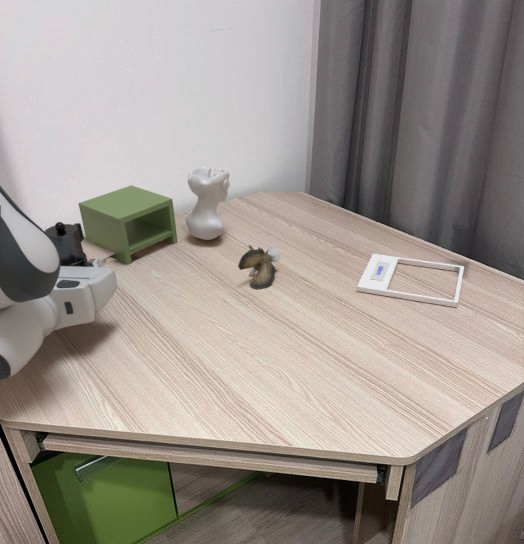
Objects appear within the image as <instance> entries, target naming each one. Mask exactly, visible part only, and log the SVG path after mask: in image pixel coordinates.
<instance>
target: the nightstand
mask: <svg viewBox="0 0 524 544" xmlns="http://www.w3.org/2000/svg"><path fill="white" fill-rule="evenodd" d="M78 209H79V213H80V217H81V221H82V226H83V230H84V234H85V239H86V241H87V242H89V243H92V244H95V245H97V246H99V247H102V248H103V249H106V250H107V251H110V252H111V253H114V254H112V255H109V257H110V258H112V259H114V260H116V261H118V262H120V263H123V264H125V265H127V266H128V265H130V264H132V263H133V261H132V254H133V253H136V252H138V251H140V250H143V249H145V248H147V247H150V246H152V245H155V244H156V243H159V242H161V241H165V242H168V243H170V244H177V243H179V242H178V233H177V225H176V217H175V209H174V203H173V198H171V197H169V196H166V195H163V194H159V193H157V192H153V191H150V190H148V189H144V188H141V187H138V186H134V185H128V186H124V187H122V188H118V189H116V190H113V191H110V192H108V193H103V194H101V195H99V196H96V197H93V198H92V197H91V198H90V199H86V200H84V201H81V202H78Z"/></svg>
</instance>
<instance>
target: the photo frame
mask: <svg viewBox="0 0 524 544" xmlns="http://www.w3.org/2000/svg"><path fill="white" fill-rule="evenodd" d="M398 264H403V265H411V266H418V267H425V268H431V269H439V270H445V271H453V272H458V277H457V282H456V288H455V294H454V299H448V298H442V297H435V296H430V295H424V294H423V295H422V294H416V293H410V292H404V291H399V290H393V289H389V286H390V284H391V282H392V279H393V276H394V274H395V272H396V269H397V267H398ZM464 270H465V266H463V265H457V264H451V263H443V262H435V261H428V260H420V259H415V258H406V257H401V256H394V255H385V254H379V253H372V255H371V256H370V259H369V261H368V263H367V265H366V267H365V269H364V271H363V273H362V276H361V278H360V279H359V282H358V284H357V285H356V292H360V293H365V294H371V295H379V296H386V297H391V298H397V299H403V300H410V301H416V302H422V303H428V304H434V305H441V306H446V307H451V308H452V307H453V308H458V305H459V299H460V293H461V287H462V282H463V275H464Z"/></svg>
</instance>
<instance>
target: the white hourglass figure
mask: <svg viewBox="0 0 524 544" xmlns="http://www.w3.org/2000/svg"><path fill="white" fill-rule="evenodd" d="M211 173H212V169H211V168H210V167H208V166H196V167H193V168H192V169H191V171H190V172H189V173H188V176H187V185H188V187H189V189H190V191H191V192H192V193H193V194H194V195H196V197H197V201H196V203H195V206H194V207H193V208H192V210H191V212H190V213H189V214H187V215H186V217H185V224H186V226H187V229H188V231H189V233H190V235H191V236H193V237H194V238H197V239H200V240H204V241H212V240H215V239H216V238H218V237H219V236H221V235H222V233H223V232H224V223H223V222H222V220H221V219H220V217H219V216H218V211H217V210H218V205H219V204H220V203H222V202H225V201H226V200H227V198H228V194H229V192H228V190H229V188H230V185H231V183H230V180H229V179H230V173H229V171H227V170H226V171H224V168H223V167H221V166H219V167H216V168H215V169H214V174H213V176H211Z"/></svg>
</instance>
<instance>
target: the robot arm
mask: <svg viewBox="0 0 524 544" xmlns="http://www.w3.org/2000/svg"><path fill="white" fill-rule="evenodd" d="M87 262H88V266H89V267H76V266H61V260H60V255H59V252H58V249H57V247H56V245H55V244H54V242H53V241H52V239H51V238H50V237H49V236H48V235H47V234H46V233H45V230H43V229H42V227H40V225H38V224H37V223H36V222H35V221H33V220H32V219H31V218H30V217H29V216H28V215H27V214H26V213H25V212H24V211H23V210H22V209H21V208H20V207H19V206H18V204H17V203H16V202H15V201H14V200H13V199H12V197H10V195H9V194H8V193H7V191H6V190H5V189H4V188H3V187H2V186H1V185H0V381H3V380H7V379H9V378H12V377H13V376H15V375H16V374H18V372H19V371H21V370H22V369H23V368H24V367H25V366H26V365H27V364H28V363H29V362H30V360H31V359H33V357H34V356H35V355H36V353H37V352H38V351H39V349H40V348H41V346H42V344H43V342H44V339H45V338H46V337H47V336H49V335H50V334H52V332H53V331H58V330H60V329H63V328H66V327H67V328H68V327H72V326H77V325H85V324H90V323H92V322H94V320H95V319H96V312H97V311H99V310H102V309H103V308H104V307H105V306H106V305H107V304H108V303H109V302H110V300H111V299H112V297H114V294H115V293H116V291H117V290H118V281H117V276H116V272H115V271H114V269H113V268H112V267H107V266H105V267H104V266H103V267H102V263H101V259H100V258H90V259H89V260H88V261H87Z"/></svg>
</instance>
